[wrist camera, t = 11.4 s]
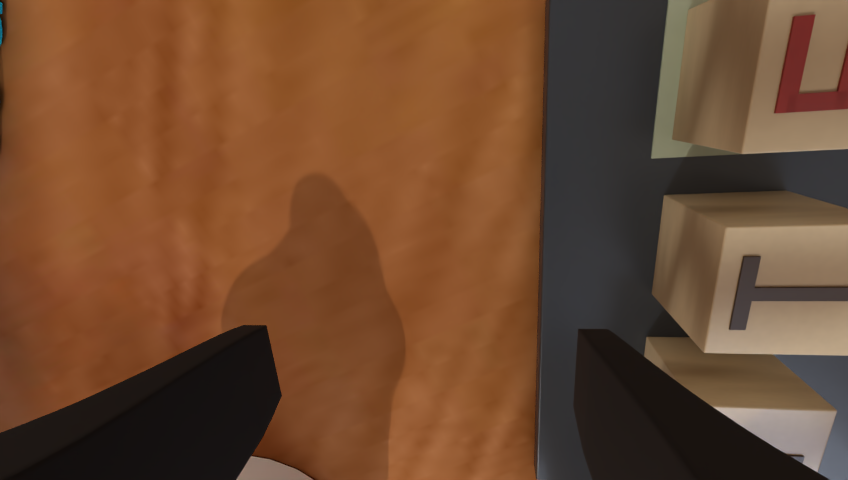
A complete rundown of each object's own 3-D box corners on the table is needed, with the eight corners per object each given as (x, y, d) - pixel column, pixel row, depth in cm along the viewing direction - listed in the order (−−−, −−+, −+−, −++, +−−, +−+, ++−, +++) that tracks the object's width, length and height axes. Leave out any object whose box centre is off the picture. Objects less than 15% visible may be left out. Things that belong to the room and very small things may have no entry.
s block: (801, 133, 14) (929, 145, 10) (671, 139, 15) (742, 154, 11) (832, -5, 13) (994, -54, 9) (687, 9, 13) (776, -30, 9)
